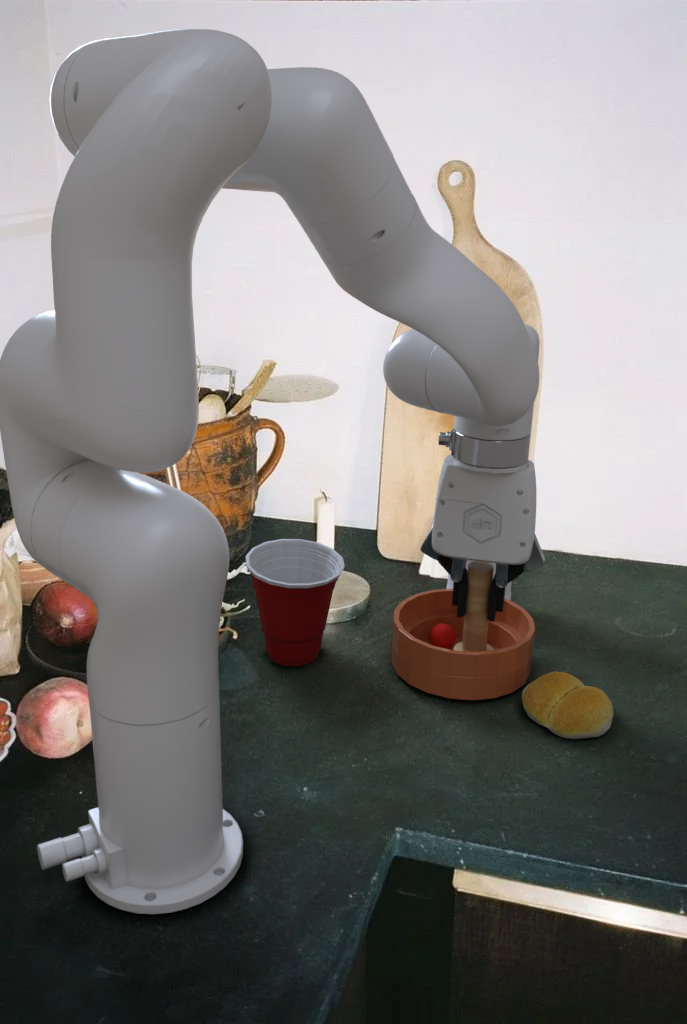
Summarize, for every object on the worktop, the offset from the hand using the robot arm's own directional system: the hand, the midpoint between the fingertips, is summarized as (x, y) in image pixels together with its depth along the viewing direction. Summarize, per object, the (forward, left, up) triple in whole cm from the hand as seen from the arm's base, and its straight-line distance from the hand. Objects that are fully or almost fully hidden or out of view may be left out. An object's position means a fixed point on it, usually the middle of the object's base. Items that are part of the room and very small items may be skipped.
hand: (477, 612), depth 99 cm
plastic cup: (-15, +13, -8) cm, 22 cm away
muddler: (0, 0, -6) cm, 6 cm away
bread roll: (+4, -11, -8) cm, 14 cm away
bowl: (0, +2, -8) cm, 8 cm away
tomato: (0, +6, -6) cm, 8 cm away
